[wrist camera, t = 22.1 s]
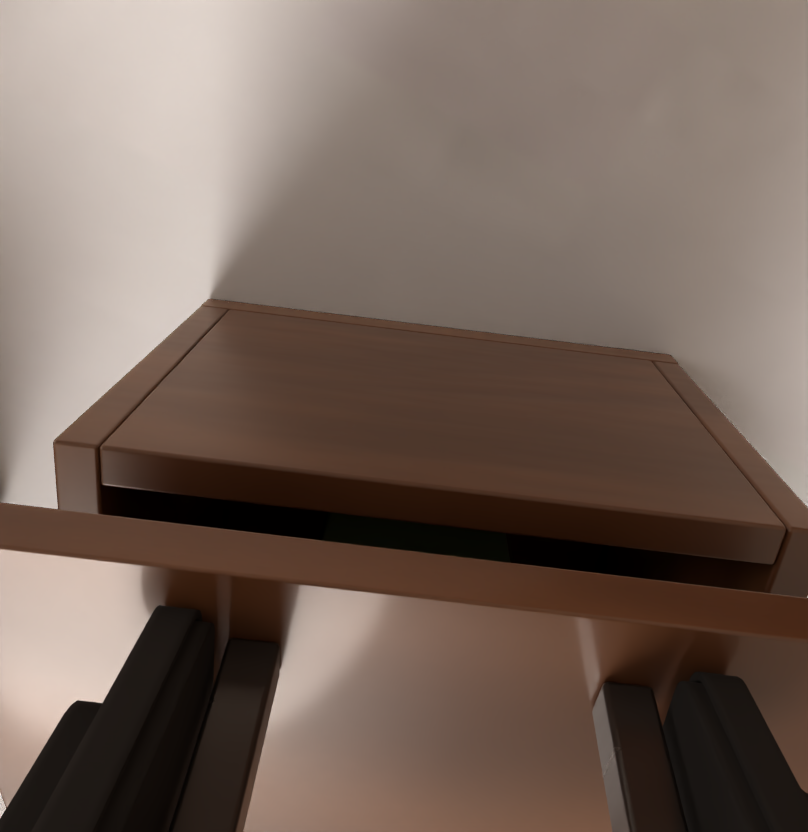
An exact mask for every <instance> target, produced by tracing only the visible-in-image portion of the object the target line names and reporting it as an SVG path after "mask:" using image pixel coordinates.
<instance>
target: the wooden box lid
mask: <svg viewBox="0 0 808 832" xmlns="http://www.w3.org/2000/svg"><path fill="white" fill-rule="evenodd" d="M159 605H162V606H170V607H179V608H187V609H195V610H200V611H201V614H202V622H209V623H213V624H214V627H215V641H214V680H213V690H212V693H211V696H210V699H209V703H208V706H207V709H206V712H205V716H204V719H203V722H202V725H201V728H200V732H199V735H198V738H197V741H196V744H195V748H194V751H193V754H192V757H191V760H190V764H189V767H188V770H187V773H186V776H185V780H184V783H183V786H182V789H181V792H180V796H179V799H178V802H177V805H176V808H175V812H174V815H173V818H172V821H171V825H170V828H169V831H168V832H689V830H688V826H687V822H686V818H685V814H684V810H683V806H682V802H681V799H680V795H679V791H678V787H677V783H676V779H675V775H674V771H673V767H672V763H671V759H670V755H669V751H668V747H667V743H666V739H665V735H664V731H663V724H664V721H665V718H666V715H667V712H668V709H669V706H670V703H671V700H672V697H673V694H674V691H675V688H676V686H677V684H678V683H679V682H680V681H689V679H690V677H691V676H692V675H693V674H694V673H695V672H706V673H714V674H722V675H730V676H738V677H739V678H741V679H742V680H743V681H744V682H745V684H746V685H747V687H748V689H749V691H750V693H751V695H752V697H753V699H754V700H755V702H756V704H757V706H758V708H759V710H760V712H761V714H762V716H763V718H764V719H765V721H766V723H767V725H768V727H769V729H770V731H771V733H772V735H773V736H774V738H775V740H776V742H777V744H778V746H779V748H780V750H781V752H782V754H783V755H784V757H785V759H786V761H787V763H788V765H789V767H790V769H791V771H792V773H793V774H794V776H795V778H796V780H797V782H798V784H799V786H800V788H801V789H802V790H804V791H805V792H806V793H807V794H808V598H804V597H795V596H787V595H778V594H770V593H761V592H753V591H744V590H736V589H728V588H719V587H711V586H702V585H694V584H685V583H677V582H668V581H660V580H651V579H643V578H634V577H626V576H618V575H609V574H601V573H592V572H584V571H575V570H567V569H558V568H550V567H541V566H533V565H525V564H516V563H508V562H499V561H491V560H482V559H474V558H465V557H457V556H448V555H440V554H432V553H423V552H415V551H406V550H398V549H389V548H381V547H372V546H364V545H355V544H347V543H339V542H330V541H322V540H313V539H305V538H296V537H288V536H279V535H271V534H262V533H254V532H245V531H237V530H229V529H220V528H212V527H203V526H195V525H186V524H178V523H169V522H161V521H152V520H144V519H136V518H127V517H119V516H110V515H102V514H93V513H85V512H76V511H68V510H59V509H51V508H43V507H34V506H26V505H17V504H9V503H0V792H1V795H2V798H3V801H4V803H5V806H6V809H7V807H8V805H9V804H10V802H11V800H12V799H13V797H14V795H15V794H16V792H17V790H18V789H19V787H20V786H21V784H22V782H23V781H24V779H25V777H26V776H27V774H28V772H29V771H30V769H31V767H32V766H33V764H34V762H35V761H36V759H37V758H38V756H39V754H40V753H41V751H42V749H43V748H44V746H45V744H46V743H47V741H48V739H49V738H50V736H51V734H52V733H53V731H54V730H55V728H56V726H57V725H58V723H59V721H60V720H61V718H62V716H63V715H64V713H65V712H66V711H67V709H68V708H69V707H70V705H72V704H73V703H74V702H76V701H77V700H80V701H89V702H97V703H103V701H104V699H105V698H106V696H107V694H108V692H109V690H110V689H111V687H112V685H113V683H114V681H115V680H116V678H117V676H118V674H119V672H120V671H121V669H122V667H123V665H124V663H125V661H126V660H127V658H128V656H129V654H130V652H131V651H132V649H133V647H134V645H135V643H136V642H137V640H138V638H139V636H140V634H141V633H142V631H143V629H144V627H145V625H146V624H147V622H148V620H149V618H150V616H151V615H152V613H153V611H154V610H155V608H156V607H157V606H159Z"/></svg>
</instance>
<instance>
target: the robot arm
mask: <svg viewBox="0 0 808 832" xmlns="http://www.w3.org/2000/svg"><path fill="white" fill-rule="evenodd" d="M214 641H215V627H214V624H213V623H209V622H202V614H201V611H200V610H195V609H187V608H179V607H170V606H162V605H159V606H157V607H156V608H155V610H154V611H153V613H152V615H151V616H150V618H149V620H148V622H147V624H146V625H145V627H144V629H143V631H142V633H141V634H140V636H139V638H138V640H137V642H136V643H135V645H134V647H133V649H132V651H131V652H130V654H129V656H128V658H127V660H126V661H125V663H124V665H123V667H122V669H121V671H120V672H119V674H118V676H117V678H116V680H115V681H114V683H113V685H112V687H111V689H110V690H109V692H108V694H107V696H106V698H105V699H104V701H103V703H97V702H89V701H80V700H77V701H76V702H74V703H73V704H72V705H70V707H69V708H68V709H67V711H66V712H65V713H64V715H63V716H62V718H61V720H60V721H59V723H58V725H57V726H56V728H55V730H54V731H53V733H52V734H51V736H50V738H49V739H48V741H47V743H46V744H45V746H44V748H43V749H42V751H41V753H40V754H39V756H38V758H37V759H36V761H35V762H34V764H33V766H32V767H31V769H30V771H29V772H28V774H27V776H26V777H25V779H24V781H23V782H22V784H21V786H20V787H19V789H18V790H17V792H16V794H15V795H14V797H13V799H12V800H11V802H10V804H9V805H8V807H7V809H6V810H5V812H4V814H3V815H2V817H1V818H0V832H168V831H169V828H170V825H171V821H172V818H173V815H174V812H175V808H176V805H177V802H178V799H179V796H180V792H181V789H182V786H183V783H184V780H185V776H186V773H187V770H188V767H189V764H190V760H191V757H192V754H193V751H194V748H195V744H196V741H197V738H198V735H199V732H200V728H201V725H202V722H203V719H204V716H205V712H206V709H207V706H208V703H209V699H210V696H211V693H212V690H213V680H214ZM663 731H664V735H665V739H666V743H667V747H668V751H669V755H670V759H671V763H672V767H673V771H674V775H675V779H676V783H677V787H678V791H679V795H680V799H681V802H682V806H683V810H684V814H685V818H686V822H687V826H688V830H689V832H808V794H807V793H806V792H805V791H804V790H802V789H801V788H800V786H799V784H798V782H797V780H796V778H795V776H794V774H793V773H792V771H791V769H790V767H789V765H788V763H787V761H786V759H785V757H784V755H783V754H782V752H781V750H780V748H779V746H778V744H777V742H776V740H775V738H774V736H773V735H772V733H771V731H770V729H769V727H768V725H767V723H766V721H765V719H764V718H763V716H762V714H761V712H760V710H759V708H758V706H757V704H756V702H755V700H754V699H753V697H752V695H751V693H750V691H749V689H748V687H747V685H746V684H745V682H744V681H743V680H742V679H741V678H739V677H738V676H730V675H722V674H714V673H706V672H695V673H694V674H693V675H692V676H691V677H690V679H689V681H680V682H679V683H678V684H677V686H676V688H675V691H674V694H673V697H672V700H671V703H670V706H669V709H668V712H667V715H666V718H665V721H664V724H663Z"/></svg>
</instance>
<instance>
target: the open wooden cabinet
mask: <svg viewBox="0 0 808 832" xmlns="http://www.w3.org/2000/svg"><path fill="white" fill-rule="evenodd" d="M53 448H54V461H55V474H56V487H57V500H58V509H59V510H68V511H76V512H85V513H93V514H102V515H110V516H119V517H127V518H136V519H144V520H152V521H161V522H169V523H178V524H186V525H195V526H203V527H212V528H220V529H229V530H237V531H245V532H254V533H262V534H271V535H279V536H288V537H296V538H305V539H313V540H322V536H323V532H324V528H325V524H326V520H327V516H328V512H330V513H339V514H347V515H356V516H364V517H373V518H381V519H389V520H398V521H406V522H415V523H423V524H432V525H440V526H448V527H457V528H465V529H474V530H482V531H490V532H499V533H506V538H507V544H508V551H509V557H510V563H516V564H525V565H533V566H541V567H550V568H558V569H567V570H575V571H584V572H592V573H601V574H609V575H618V576H626V577H634V578H643V579H651V580H660V581H668V582H677V583H685V584H694V585H702V586H711V587H719V588H728V589H736V590H744V591H753V592H761V593H770V594H778V595H787V596H795V597H804V598H807V596H808V507H807V506H806V505H805V504H804V503H803V502H802V501H801V500H800V499H799V497H798V496H797V495H796V494H795V493H794V492H793V491H792V490H791V489H790V487H789V486H788V485H787V484H786V483H785V482H784V481H783V480H782V479H781V478H780V476H779V475H778V474H777V473H776V472H775V471H774V470H773V469H772V468H771V466H770V465H769V464H768V463H767V462H766V461H765V460H764V459H763V458H762V457H761V455H760V454H759V453H758V452H757V451H756V450H755V449H754V448H753V447H752V445H751V444H750V443H749V442H748V441H747V440H746V439H745V438H744V437H743V435H742V434H741V433H740V432H739V431H738V430H737V429H736V428H735V427H734V426H733V424H732V423H731V422H730V421H729V420H728V419H727V418H726V417H725V416H724V414H723V413H722V412H721V411H720V410H719V409H718V408H717V407H716V406H715V405H714V403H713V402H712V401H711V400H710V399H709V398H708V397H707V396H706V395H705V393H704V392H703V391H702V390H701V389H700V388H699V387H698V386H697V385H696V383H695V382H694V381H693V380H692V379H691V378H690V377H689V376H688V375H687V374H686V372H685V371H684V370H683V369H682V368H681V367H680V366H679V365H678V363H677V361H676V360H675V359H674V358H673V357H672V356H671V355H667V354H659V353H651V352H643V351H634V350H626V349H618V348H610V347H601V346H593V345H585V344H577V343H569V342H560V341H552V340H544V339H536V338H528V337H519V336H511V335H503V334H495V333H487V332H478V331H470V330H462V329H454V328H446V327H437V326H429V325H421V324H413V323H404V322H396V321H388V320H380V319H372V318H363V317H355V316H347V315H339V314H331V313H322V312H314V311H306V310H298V309H290V308H281V307H273V306H265V305H257V304H248V303H240V302H232V301H224V300H216V299H208V300H207V301H206V302H205V303H204V304H202V306H201V307H200V308H199V309H197V310H196V311H195V312H194V313H193V314H192V315H191V316H190V317H189V318H188V319H187V320H185V321H184V322H183V323H182V324H181V325H180V326H179V327H178V328H177V329H176V330H174V331H173V332H172V333H171V334H170V335H169V336H168V337H167V338H166V339H165V340H163V341H162V342H161V343H160V344H159V345H158V346H157V347H156V348H155V349H154V350H153V351H151V352H150V353H149V354H148V355H147V356H146V357H145V358H144V359H143V360H142V361H140V362H139V363H138V364H137V365H136V366H135V367H134V368H133V369H132V370H131V371H129V372H128V373H127V374H126V375H125V376H124V377H123V378H122V379H121V380H120V381H119V382H117V383H116V384H115V385H114V386H113V387H112V388H111V389H110V390H109V391H108V392H106V393H105V394H104V395H103V396H102V397H101V398H100V399H99V400H98V401H97V402H95V403H94V404H93V405H92V406H91V407H90V408H89V409H88V410H87V411H86V412H85V413H83V414H82V415H81V416H80V417H79V418H78V419H77V420H76V421H75V422H74V423H72V424H71V425H70V426H69V427H68V428H67V429H66V430H65V431H64V432H63V433H61V434H60V435H59V436H58V437H57V438H56V439H55V440H54V442H53Z"/></svg>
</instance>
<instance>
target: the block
mask: <svg viewBox="0 0 808 832" xmlns="http://www.w3.org/2000/svg"><path fill="white" fill-rule="evenodd" d="M322 541H330V542H339V543H347V544H355V545H364V546H372V547H381V548H389V549H398V550H406V551H415V552H423V553H432V554H440V555H448V556H457V557H465V558H474V559H482V560H491V561H499V562H508V563H510V557H509V551H508V544H507V538H506V533H499V532H490V531H482V530H474V529H465V528H457V527H448V526H440V525H432V524H423V523H415V522H406V521H398V520H389V519H381V518H373V517H364V516H356V515H347V514H339V513H330V512H328V516H327V520H326V524H325V528H324V532H323V536H322Z"/></svg>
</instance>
